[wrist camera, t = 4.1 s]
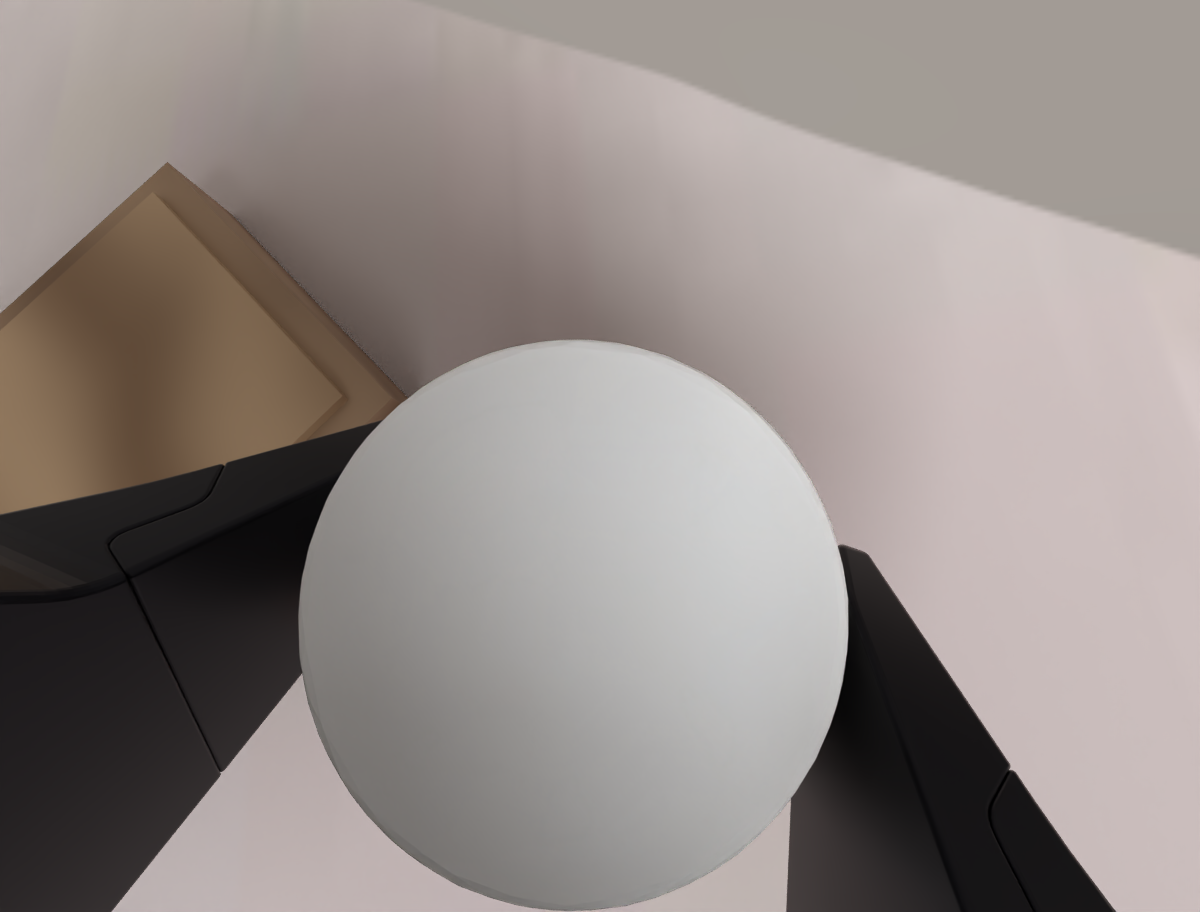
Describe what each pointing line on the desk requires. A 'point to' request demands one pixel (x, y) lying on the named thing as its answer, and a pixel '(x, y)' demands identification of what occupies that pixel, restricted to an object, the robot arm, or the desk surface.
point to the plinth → (168, 355)
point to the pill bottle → (573, 625)
